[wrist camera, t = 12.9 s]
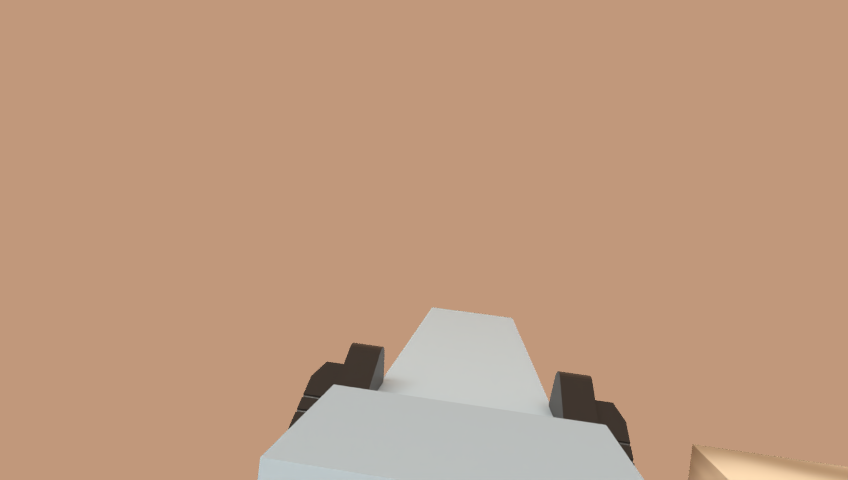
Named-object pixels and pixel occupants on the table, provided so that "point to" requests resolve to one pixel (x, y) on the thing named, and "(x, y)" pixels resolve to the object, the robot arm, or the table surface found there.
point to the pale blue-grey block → (447, 418)
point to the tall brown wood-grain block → (756, 467)
